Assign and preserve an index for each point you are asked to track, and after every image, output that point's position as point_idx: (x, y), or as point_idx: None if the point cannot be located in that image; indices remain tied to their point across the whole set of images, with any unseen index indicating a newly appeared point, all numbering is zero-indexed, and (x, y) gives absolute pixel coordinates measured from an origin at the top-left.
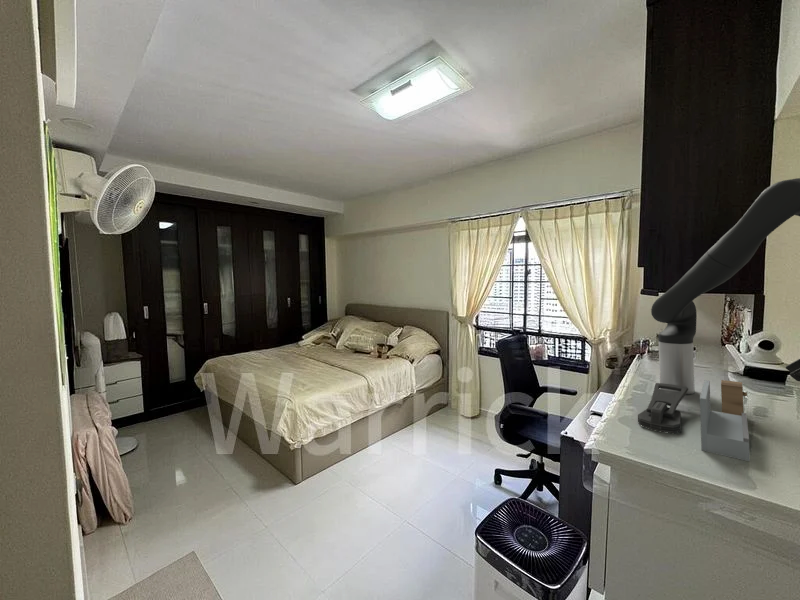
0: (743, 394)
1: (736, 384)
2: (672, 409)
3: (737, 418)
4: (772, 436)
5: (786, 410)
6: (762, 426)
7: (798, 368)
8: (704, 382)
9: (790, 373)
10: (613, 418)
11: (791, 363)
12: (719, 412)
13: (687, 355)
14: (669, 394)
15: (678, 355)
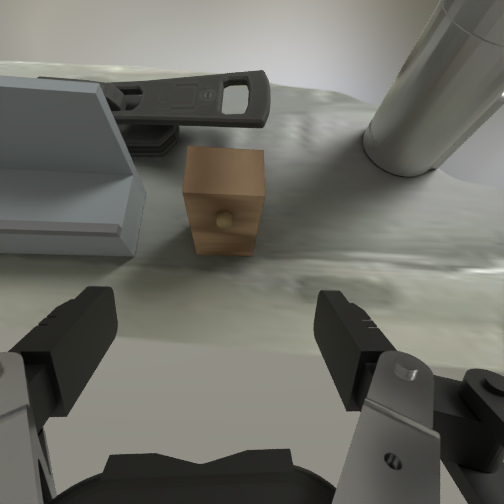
0: (217, 216)
1: (216, 180)
2: None
3: (89, 219)
4: (134, 300)
5: (408, 348)
6: (207, 287)
7: (328, 346)
8: (55, 81)
9: (99, 287)
10: (91, 71)
11: (345, 309)
12: (126, 190)
13: (465, 49)
14: (190, 99)
15: (441, 32)
